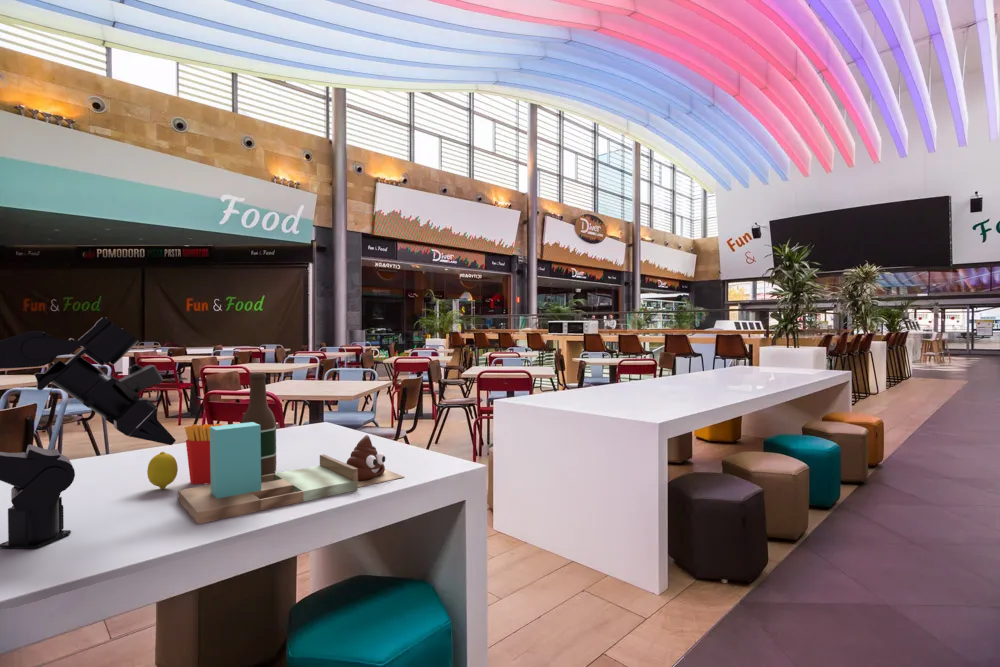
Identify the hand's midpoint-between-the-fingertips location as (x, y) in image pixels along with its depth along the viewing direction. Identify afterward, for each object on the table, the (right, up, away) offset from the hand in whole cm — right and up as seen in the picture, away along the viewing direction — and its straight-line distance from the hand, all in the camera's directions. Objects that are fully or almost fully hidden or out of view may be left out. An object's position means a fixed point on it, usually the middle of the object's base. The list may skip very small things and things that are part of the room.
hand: (168, 439), depth 99 cm
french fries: (-5, -14, +22) cm, 26 cm away
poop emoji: (+31, -13, +24) cm, 41 cm away
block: (+9, -12, +7) cm, 16 cm away
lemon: (-11, -14, +16) cm, 24 cm away
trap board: (+14, -14, +11) cm, 23 cm away
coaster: (+31, -13, +24) cm, 41 cm away
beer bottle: (+5, -14, +27) cm, 31 cm away
